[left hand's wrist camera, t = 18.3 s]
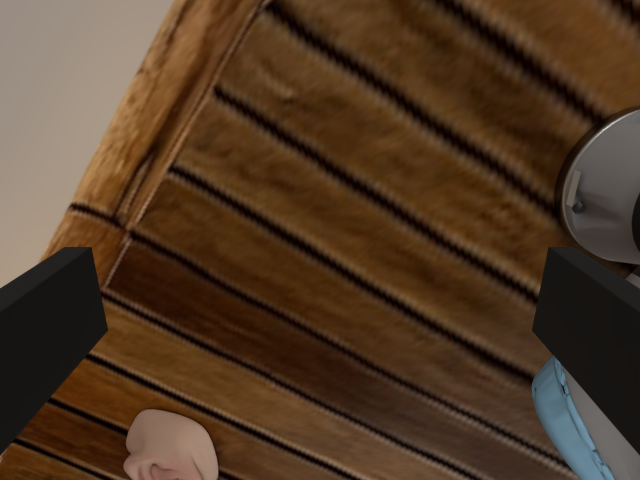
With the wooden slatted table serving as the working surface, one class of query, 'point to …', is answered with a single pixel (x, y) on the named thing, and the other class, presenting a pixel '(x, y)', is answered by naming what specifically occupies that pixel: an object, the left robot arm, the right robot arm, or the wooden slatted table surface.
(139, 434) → the anatomical model
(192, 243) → the wooden slatted table surface
